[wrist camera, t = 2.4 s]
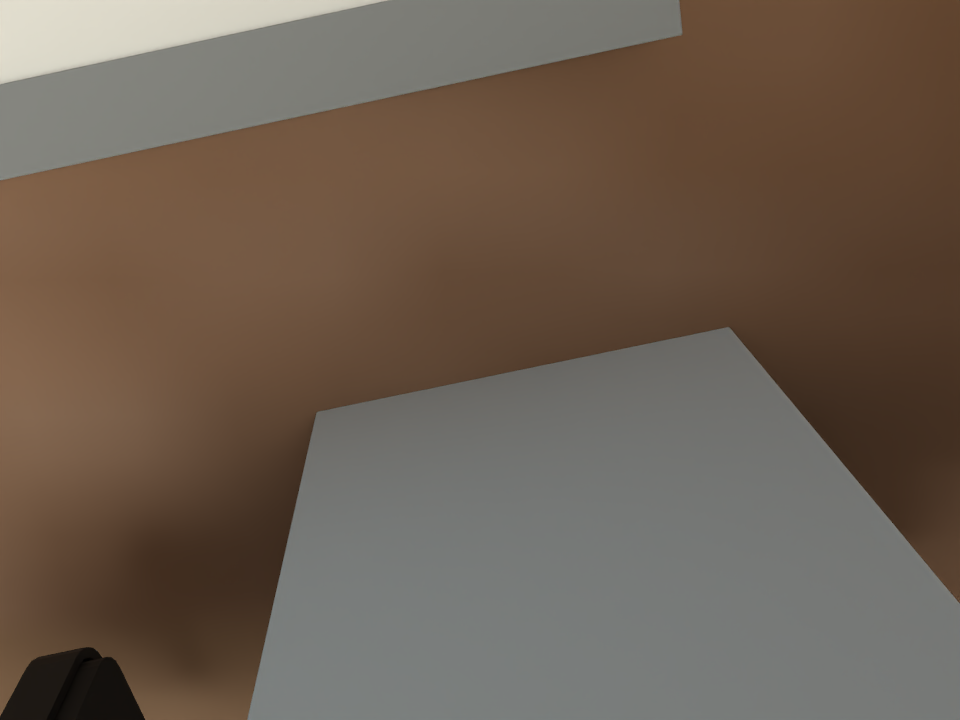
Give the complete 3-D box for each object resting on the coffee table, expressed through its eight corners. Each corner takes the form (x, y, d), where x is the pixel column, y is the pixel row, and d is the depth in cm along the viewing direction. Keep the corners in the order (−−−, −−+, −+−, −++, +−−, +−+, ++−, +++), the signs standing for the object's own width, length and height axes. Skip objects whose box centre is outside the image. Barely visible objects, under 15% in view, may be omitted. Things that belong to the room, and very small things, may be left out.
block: (728, 325, 11) (1057, 721, 5) (755, 644, 13) (1010, 1166, 7) (316, 410, 11) (210, 884, 5) (411, 711, 13) (405, 1276, 7)
